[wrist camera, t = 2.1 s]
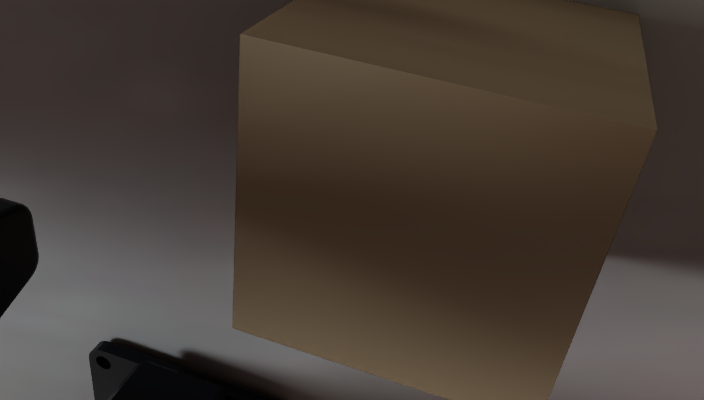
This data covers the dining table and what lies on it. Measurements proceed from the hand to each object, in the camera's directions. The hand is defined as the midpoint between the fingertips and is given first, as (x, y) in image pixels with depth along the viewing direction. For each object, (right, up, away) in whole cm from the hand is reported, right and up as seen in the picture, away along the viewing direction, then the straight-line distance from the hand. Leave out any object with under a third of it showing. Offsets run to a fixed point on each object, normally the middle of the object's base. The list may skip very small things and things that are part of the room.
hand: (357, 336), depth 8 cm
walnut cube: (+2, +3, +5) cm, 7 cm away
